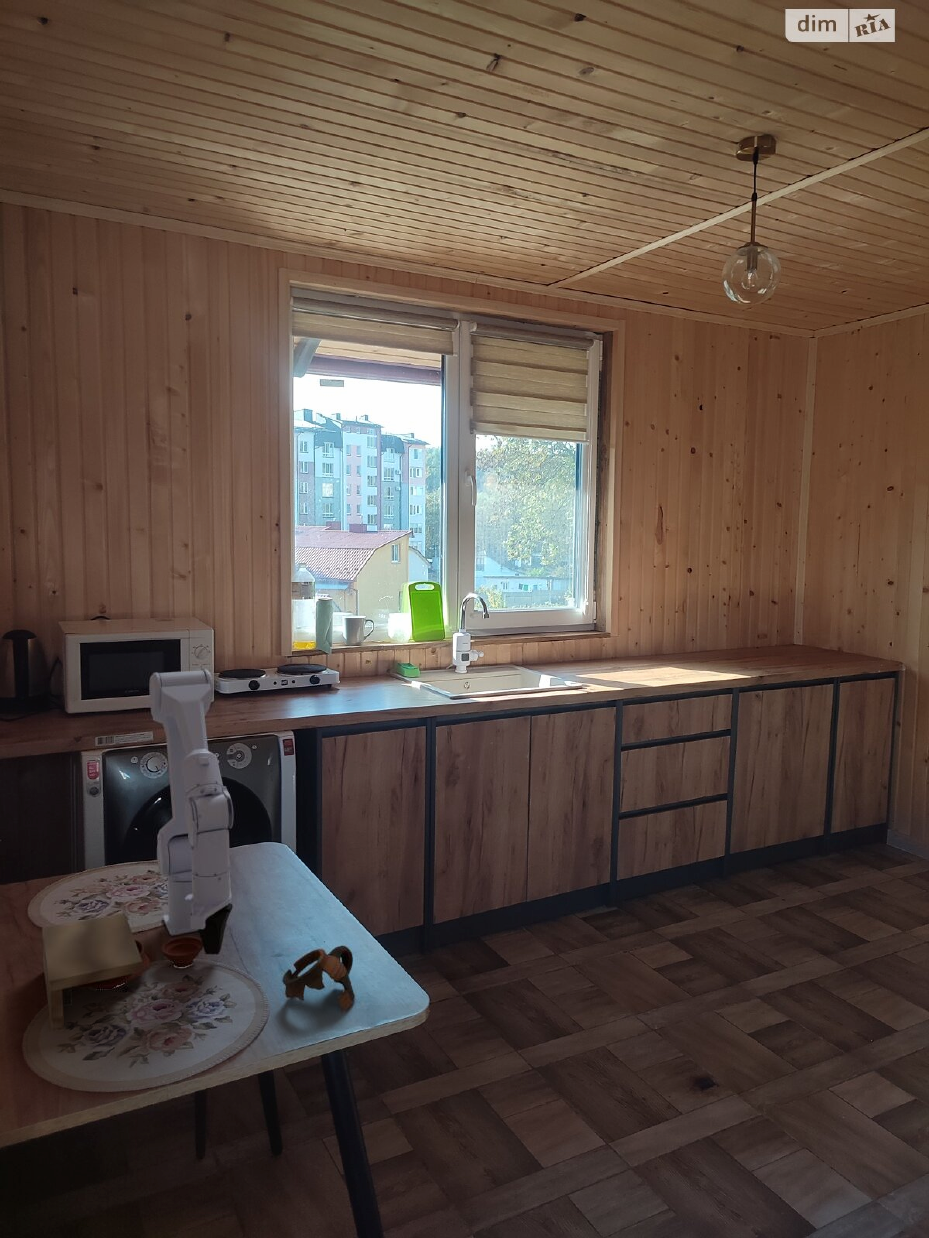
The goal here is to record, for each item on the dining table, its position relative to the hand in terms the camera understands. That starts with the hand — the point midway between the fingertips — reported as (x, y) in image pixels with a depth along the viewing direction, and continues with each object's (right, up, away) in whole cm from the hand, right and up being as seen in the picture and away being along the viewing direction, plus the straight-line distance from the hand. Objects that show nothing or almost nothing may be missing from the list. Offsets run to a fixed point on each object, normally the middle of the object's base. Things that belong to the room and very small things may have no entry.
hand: (212, 952), depth 141 cm
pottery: (-10, -2, -4) cm, 11 cm away
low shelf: (-16, -2, -8) cm, 18 cm away
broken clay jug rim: (+19, -3, -10) cm, 22 cm away
